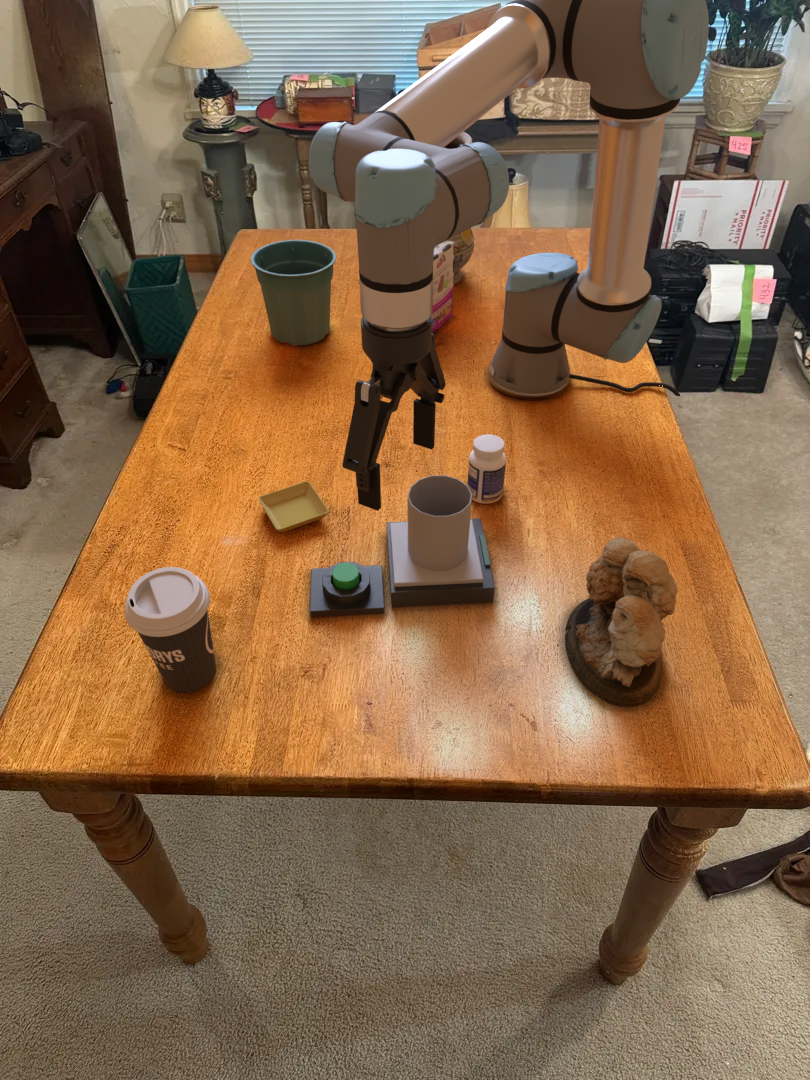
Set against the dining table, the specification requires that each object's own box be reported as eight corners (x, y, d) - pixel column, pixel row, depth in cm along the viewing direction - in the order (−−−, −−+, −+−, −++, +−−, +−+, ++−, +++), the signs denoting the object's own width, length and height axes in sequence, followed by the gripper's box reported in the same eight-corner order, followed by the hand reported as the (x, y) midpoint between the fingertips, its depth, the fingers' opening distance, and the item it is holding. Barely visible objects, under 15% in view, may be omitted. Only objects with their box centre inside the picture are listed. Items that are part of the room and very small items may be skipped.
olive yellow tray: (278, 540, 113) (276, 530, 112) (258, 506, 119) (256, 496, 117) (331, 522, 116) (330, 512, 115) (310, 489, 122) (308, 479, 120)
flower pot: (348, 316, 163) (344, 242, 152) (330, 355, 152) (323, 278, 140) (275, 310, 165) (265, 236, 154) (251, 348, 154) (238, 271, 142)
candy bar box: (433, 311, 165) (434, 236, 153) (453, 317, 163) (456, 241, 151) (405, 333, 158) (405, 256, 146) (426, 339, 156) (427, 262, 145)
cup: (462, 575, 103) (466, 520, 96) (403, 566, 104) (402, 512, 97) (471, 533, 109) (475, 479, 102) (414, 525, 110) (415, 471, 103)
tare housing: (382, 570, 109) (381, 556, 107) (384, 613, 103) (384, 598, 101) (312, 574, 108) (310, 559, 106) (310, 617, 103) (308, 602, 100)
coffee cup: (157, 644, 99) (128, 564, 89) (231, 639, 100) (210, 559, 89) (145, 706, 92) (112, 627, 82) (224, 700, 93) (202, 621, 83)
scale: (479, 532, 114) (481, 513, 112) (493, 602, 104) (495, 583, 102) (386, 536, 114) (386, 518, 111) (391, 607, 104) (391, 588, 101)
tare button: (359, 570, 105) (358, 562, 104) (359, 590, 103) (359, 581, 101) (333, 572, 105) (332, 563, 104) (333, 591, 103) (332, 582, 101)
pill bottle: (506, 486, 122) (512, 435, 115) (497, 508, 118) (503, 457, 111) (471, 478, 124) (475, 428, 117) (462, 500, 120) (465, 450, 113)
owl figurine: (549, 601, 104) (567, 508, 93) (632, 594, 105) (660, 501, 94) (585, 712, 92) (611, 621, 80) (679, 703, 92) (719, 612, 81)
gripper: (421, 263, 89) (419, 415, 103) (298, 361, 73) (316, 523, 88) (479, 277, 86) (468, 430, 101) (365, 381, 70) (372, 545, 85)
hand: (397, 474), depth 94 cm, fingers open, 13 cm apart
